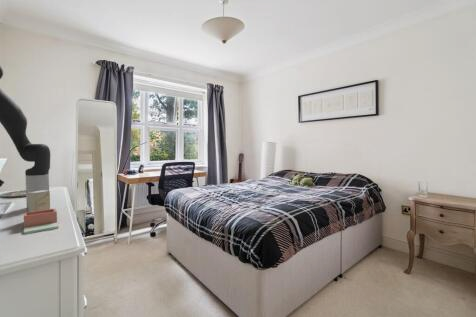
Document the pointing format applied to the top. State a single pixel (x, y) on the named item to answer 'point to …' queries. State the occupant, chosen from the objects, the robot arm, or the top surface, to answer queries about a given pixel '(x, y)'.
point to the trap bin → (40, 217)
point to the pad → (40, 228)
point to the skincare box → (39, 200)
